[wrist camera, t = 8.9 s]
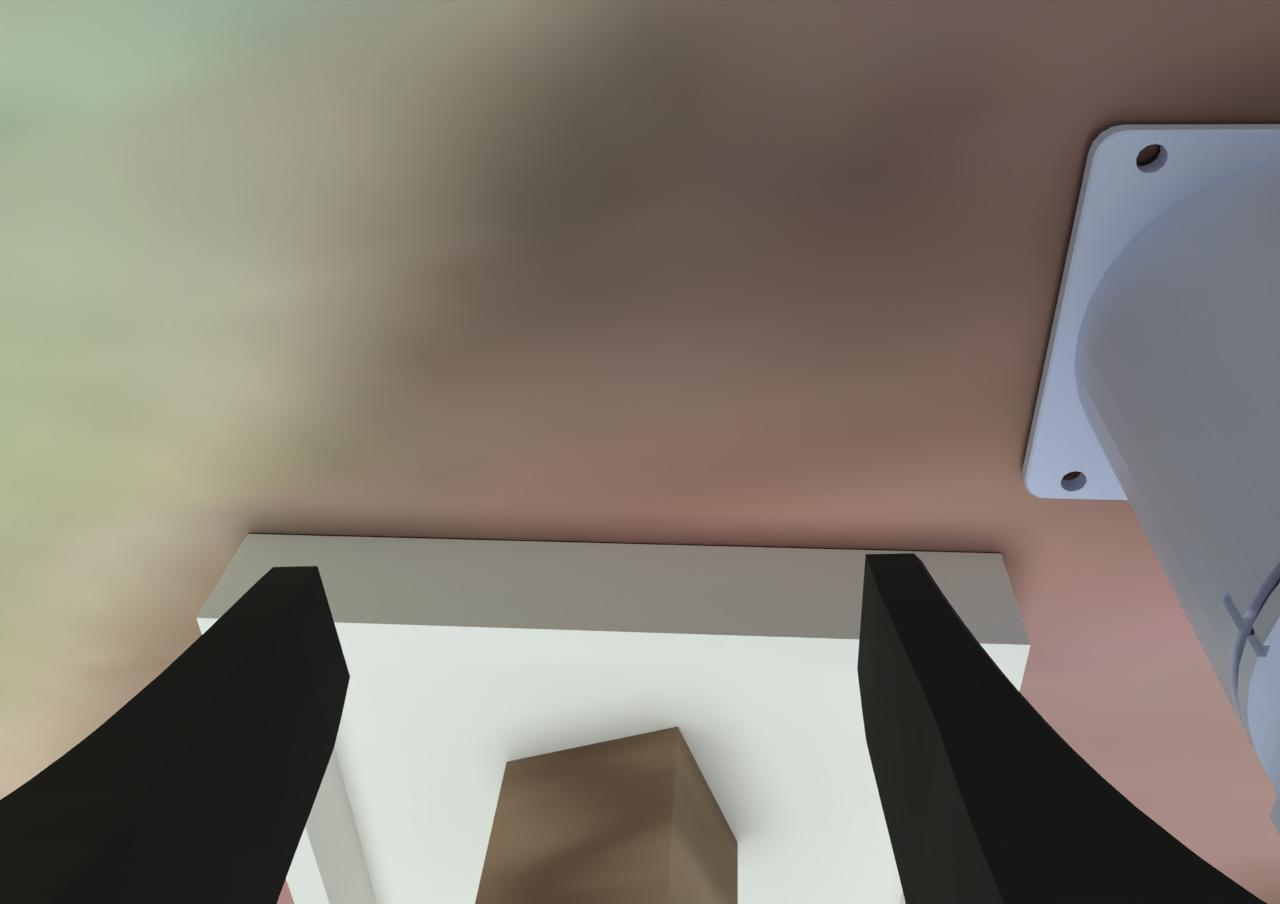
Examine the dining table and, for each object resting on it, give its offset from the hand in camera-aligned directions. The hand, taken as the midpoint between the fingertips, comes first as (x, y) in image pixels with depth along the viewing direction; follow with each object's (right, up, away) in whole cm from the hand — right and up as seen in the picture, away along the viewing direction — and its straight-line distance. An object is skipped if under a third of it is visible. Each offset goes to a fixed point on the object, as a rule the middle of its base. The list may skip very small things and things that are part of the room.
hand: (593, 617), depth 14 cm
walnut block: (0, -8, +16) cm, 18 cm away
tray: (0, -7, +16) cm, 18 cm away
